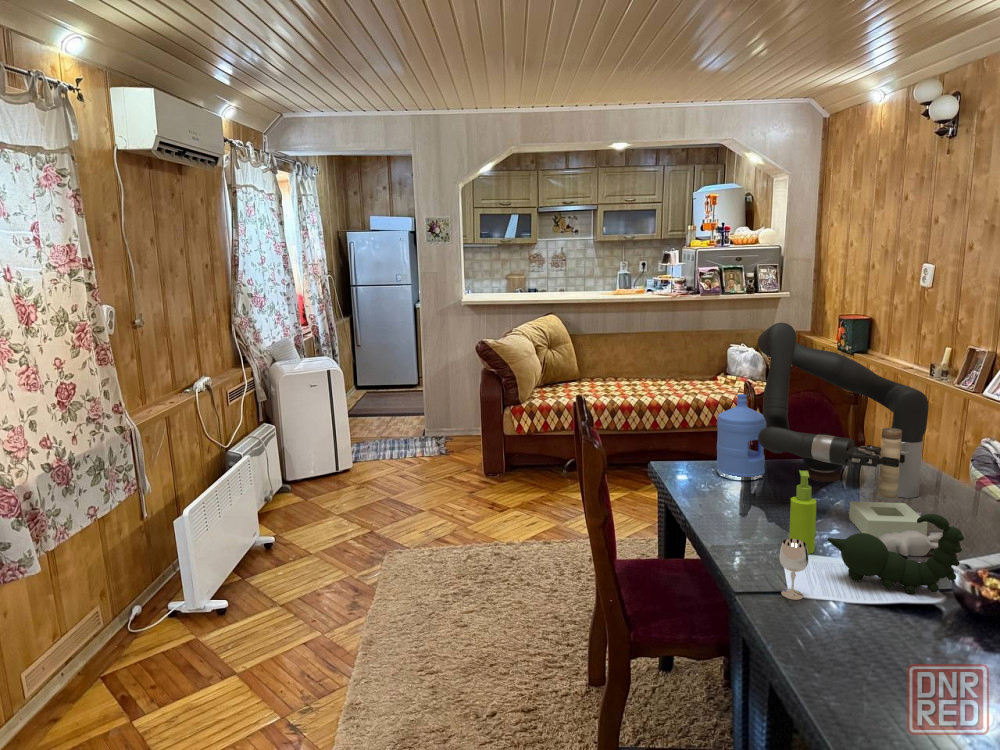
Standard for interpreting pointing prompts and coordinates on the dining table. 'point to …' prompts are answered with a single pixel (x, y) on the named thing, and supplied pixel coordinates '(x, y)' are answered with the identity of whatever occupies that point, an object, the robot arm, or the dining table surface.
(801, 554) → the wineglass
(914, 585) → the toy figurine
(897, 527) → the socket block
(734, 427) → the water jug
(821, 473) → the black ball on pedestal
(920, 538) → the bunny figurine
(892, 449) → the peg
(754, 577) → the dining table surface
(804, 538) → the soap dispenser
